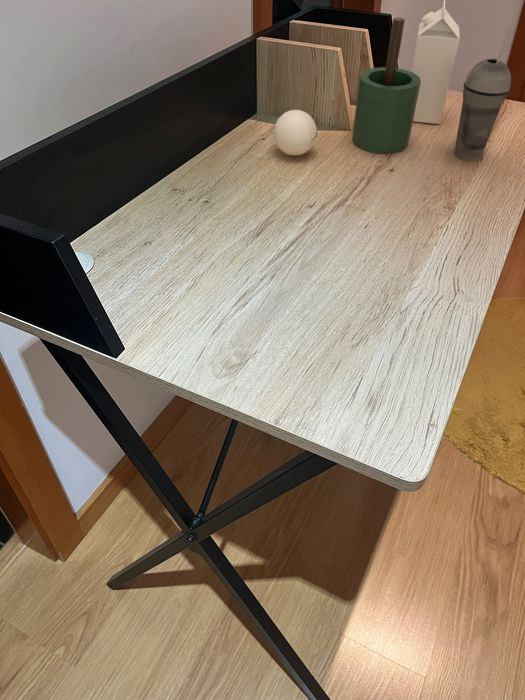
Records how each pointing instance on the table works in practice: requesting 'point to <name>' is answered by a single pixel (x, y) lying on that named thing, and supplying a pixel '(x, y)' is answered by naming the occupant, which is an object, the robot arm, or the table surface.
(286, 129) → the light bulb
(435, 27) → the milk carton
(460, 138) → the beverage cup
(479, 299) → the table surface
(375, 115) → the jar
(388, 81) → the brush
